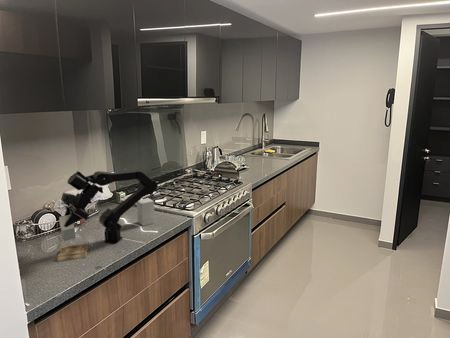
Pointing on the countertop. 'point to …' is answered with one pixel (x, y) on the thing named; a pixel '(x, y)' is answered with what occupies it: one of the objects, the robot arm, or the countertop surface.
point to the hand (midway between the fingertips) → (63, 225)
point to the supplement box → (145, 211)
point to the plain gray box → (66, 229)
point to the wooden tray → (73, 252)
